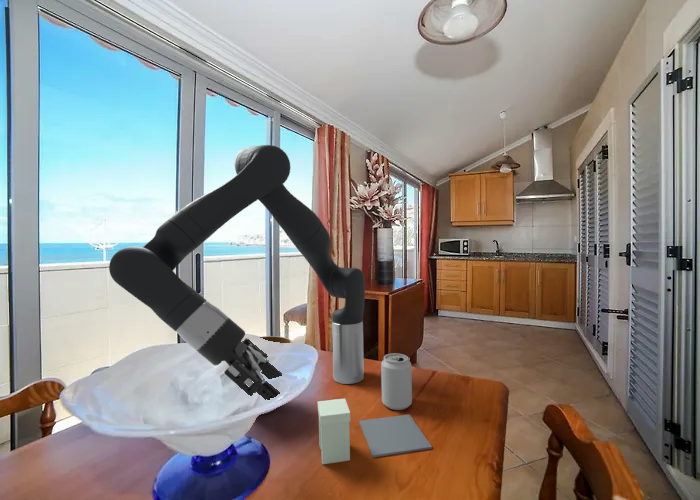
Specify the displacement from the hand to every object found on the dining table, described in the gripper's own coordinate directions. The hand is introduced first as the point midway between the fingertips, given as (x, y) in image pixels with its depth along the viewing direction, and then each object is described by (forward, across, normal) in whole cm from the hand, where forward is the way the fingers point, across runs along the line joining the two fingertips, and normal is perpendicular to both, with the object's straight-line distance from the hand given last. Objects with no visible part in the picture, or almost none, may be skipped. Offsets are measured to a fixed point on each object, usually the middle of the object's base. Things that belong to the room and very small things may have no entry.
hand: (278, 388), depth 60 cm
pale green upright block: (+17, 0, +2) cm, 17 cm away
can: (+30, +15, -10) cm, 35 cm away
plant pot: (+6, +21, +13) cm, 25 cm away
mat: (+26, +3, -7) cm, 27 cm away
